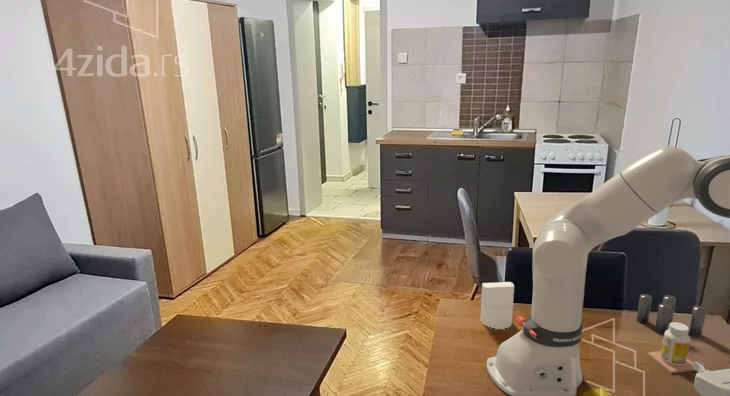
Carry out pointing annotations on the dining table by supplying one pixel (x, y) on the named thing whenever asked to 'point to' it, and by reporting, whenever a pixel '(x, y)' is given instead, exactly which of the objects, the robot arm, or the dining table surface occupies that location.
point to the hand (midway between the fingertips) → (713, 361)
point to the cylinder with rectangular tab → (497, 304)
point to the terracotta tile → (669, 367)
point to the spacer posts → (670, 315)
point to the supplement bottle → (675, 344)
